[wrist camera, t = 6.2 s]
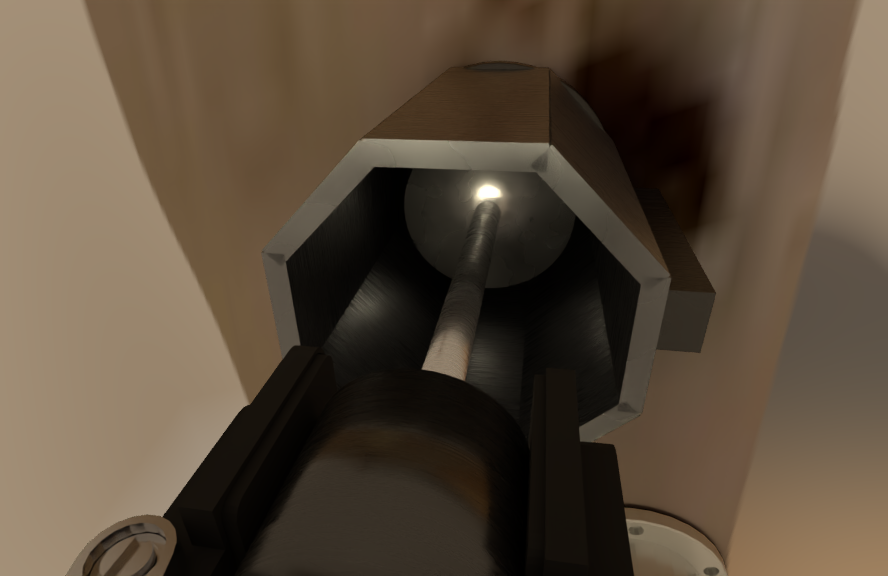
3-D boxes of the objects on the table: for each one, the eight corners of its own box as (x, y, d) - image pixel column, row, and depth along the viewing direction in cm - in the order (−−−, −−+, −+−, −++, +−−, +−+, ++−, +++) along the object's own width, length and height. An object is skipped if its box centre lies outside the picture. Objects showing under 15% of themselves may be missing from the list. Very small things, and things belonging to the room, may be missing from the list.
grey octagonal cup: (625, 288, 26) (680, 503, 15) (394, 272, 27) (296, 455, 17) (663, 61, 21) (786, 138, 10) (380, 60, 22) (227, 125, 12)
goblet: (566, 286, 22) (598, 817, 8) (411, 276, 23) (193, 730, 9) (584, 123, 19) (689, 525, 5) (403, 120, 20) (47, 441, 6)
